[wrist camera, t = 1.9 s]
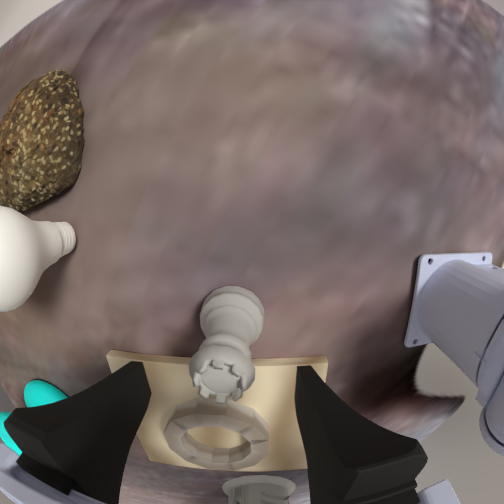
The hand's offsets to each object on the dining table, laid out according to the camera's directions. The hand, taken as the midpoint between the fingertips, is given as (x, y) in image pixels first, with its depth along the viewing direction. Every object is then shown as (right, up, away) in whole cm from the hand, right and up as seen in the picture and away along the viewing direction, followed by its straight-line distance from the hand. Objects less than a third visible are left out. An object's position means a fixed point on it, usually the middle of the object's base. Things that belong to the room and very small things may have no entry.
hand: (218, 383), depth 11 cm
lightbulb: (-13, +7, +7) cm, 16 cm away
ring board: (-2, -10, +10) cm, 14 cm away
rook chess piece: (0, +2, +8) cm, 8 cm away
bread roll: (-17, +16, +5) cm, 24 cm away
